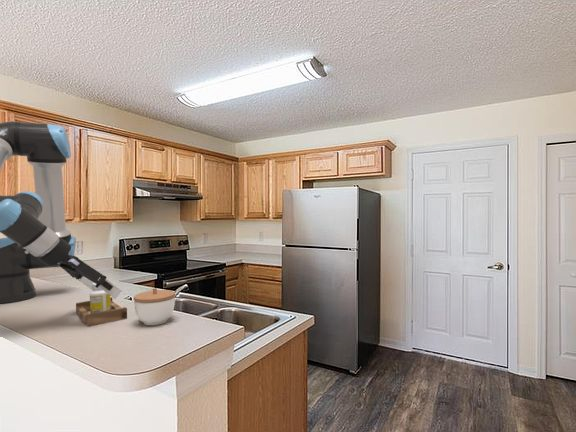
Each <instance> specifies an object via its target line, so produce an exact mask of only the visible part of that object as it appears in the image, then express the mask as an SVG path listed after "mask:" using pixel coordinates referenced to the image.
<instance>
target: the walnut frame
mask: <svg viewBox="0 0 576 432" xmlns="http://www.w3.org/2000/svg"><path fill="white" fill-rule="evenodd" d="M110 301H111V310H107V311H102V312H97V313H90V300H86V301H85V300H84V301H79V302H75V313H76V315H77V316H78V317H79V319H81V321H82V322H83V323H84V324H85V325H86V326H87V327H93V326H97V325H102V324H107V322H108V323H111V322H112V323H113V322H117V321H120V320H121V321H122V320H125V319H126V320H127V319H128V307H126V306H123V307H121V306H120V305H118V303H116V302H114V301H113V297H112V296H110Z"/></svg>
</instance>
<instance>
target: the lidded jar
mask: <svg viewBox="0 0 576 432" xmlns="http://www.w3.org/2000/svg"><path fill="white" fill-rule="evenodd" d="M175 297H176V292H175V290H171V289H158V288H157V287H156V288H155V287H154V288H153V287H152V290H149V291H142V292H140V293H137V294H135V295H134V296H133V301H134V310H135V315H136V316H137V318H138V319H139V320H140V322H142V323H143V325H145V326H157V325H162V324H164V323H166V322H167V321H168V319H169V318H170V317H171V316H172V315H173V312H174V309H175V306H176V305H175V304H176V303H175V302H176V300H175V299H176V298H175Z"/></svg>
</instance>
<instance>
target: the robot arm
mask: <svg viewBox="0 0 576 432" xmlns="http://www.w3.org/2000/svg"><path fill="white" fill-rule="evenodd" d="M13 156H18V157H19V156H20V157H26V159H27V163H28V164H29V165H31V166H32V168H33V169H32V170H33V180H34V191H35V192H33V191H28V190H27V191H20V192H18V193H16V194H14V195H0V234H2V236H3V235H4V237H1V238H0V304H7V303H9V304H10V303H16V302H21V301H25V300H29V299H32V298H34V297H36V296H37V289H36V287H35V285H34V283H33V280H32V277H31V276H30V274H31V273H30V270H35V269H37V270H38V269H48V268H49V269H50V268H61V269H62V270H64V271H65V272H66V273H67V274H69V276H71V277H72V278H73V279H76V280H78V281H79V282H81V283H82V284H83V285H85V286H86V287H87V288H88V289H90V290H91V291H93V289H92V284H93V283H95V284H96V286H95V287H96V288H98V287H99V288H101V289H102V290H104V291H105V292H106V293H108V294H109V295H110V297H112V299H114V300H116V299H117V298H118V297H119V295H120V294H121V293H122V292H123V290H122V289H120V288H119V287H118V286H116V285H115V284H114V283H113V282H111V281H109V279H107V278H108V277H107V276H106V275H104V274H102V273H101V272H99V271H98V270H96V269H94V268H93V267H92V266H90V265H89V264H87V263H86V262H84V261H82V260H81V259H80V258H79V257H78V256H75V253H76V252H75V251H76V243H77V240H76V236H74V235H71V234H72V233H71V230H69V229H68V228H67V226H66V224H67V223H66V211H65V210H66V209H65V197H64V195H65V194H64V182H63V180H64V179H63V167H64V165H66V164H67V159H70V158H71V157H72V153H71V146H70V140H69V136H68V133H67V131H66V129H65V128H64V127H63V126H61V125H57V124H50V123H35V122H26V121H25V122H23V121H21V122H20V121H15V120H14V121H4V122H0V173H1V172H2V169H3V168H4V165H5V162H6V161H8V160H9V159H11V157H13Z"/></svg>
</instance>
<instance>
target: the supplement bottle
mask: <svg viewBox="0 0 576 432" xmlns="http://www.w3.org/2000/svg"><path fill="white" fill-rule="evenodd" d="M95 286H96V284H95V283H93V284H92V289H93V290H91V291H90V292H89V301H90V311H89V314H91V313H97V312H102V311H107V310H111V301H110V297H111V296H110V295H109V294H108V293H106V292H105V291H104V290H102V289H101V288H99V287H98V288H96V287H95Z"/></svg>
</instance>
